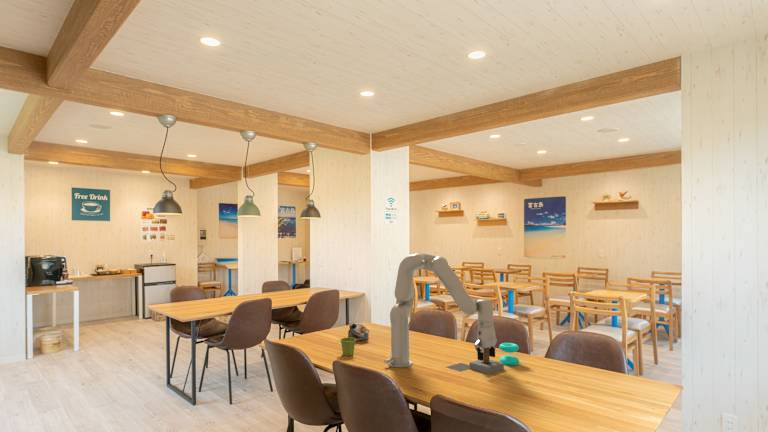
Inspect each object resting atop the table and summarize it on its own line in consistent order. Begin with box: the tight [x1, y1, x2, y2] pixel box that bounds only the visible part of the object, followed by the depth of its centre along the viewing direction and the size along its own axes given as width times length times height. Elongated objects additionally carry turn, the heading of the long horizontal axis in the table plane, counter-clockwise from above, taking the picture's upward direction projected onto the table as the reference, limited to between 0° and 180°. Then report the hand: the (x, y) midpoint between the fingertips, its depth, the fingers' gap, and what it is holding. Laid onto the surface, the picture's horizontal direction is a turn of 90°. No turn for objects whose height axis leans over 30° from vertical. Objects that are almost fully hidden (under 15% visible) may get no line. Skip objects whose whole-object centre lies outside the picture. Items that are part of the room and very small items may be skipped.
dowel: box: [483, 347, 491, 365], centre depth 222 cm, size 3×3×11 cm
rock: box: [347, 322, 370, 342], centre depth 291 cm, size 15×12×14 cm
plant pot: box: [339, 337, 357, 357], centre depth 254 cm, size 9×9×9 cm
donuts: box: [498, 342, 520, 367], centre depth 233 cm, size 10×10×10 cm
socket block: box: [469, 359, 505, 375], centre depth 222 cm, size 12×12×4 cm
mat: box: [445, 362, 471, 373], centre depth 226 cm, size 12×10×1 cm
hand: (486, 358), depth 222 cm, fingers open, 9 cm apart
